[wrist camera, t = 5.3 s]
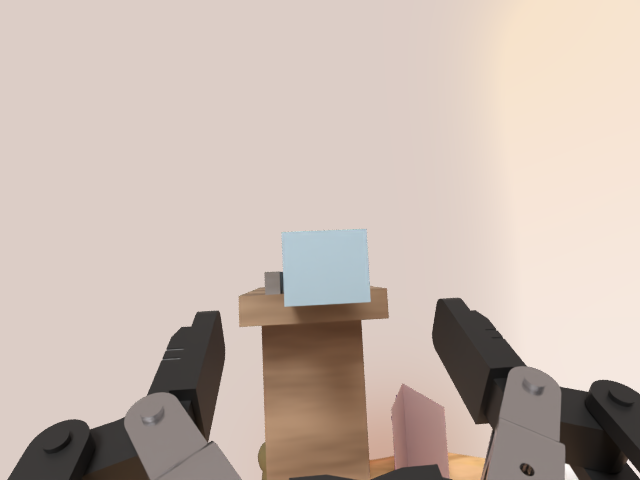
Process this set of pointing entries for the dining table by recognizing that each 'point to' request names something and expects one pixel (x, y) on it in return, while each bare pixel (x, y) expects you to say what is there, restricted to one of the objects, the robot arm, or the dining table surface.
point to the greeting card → (419, 431)
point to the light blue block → (325, 267)
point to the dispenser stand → (312, 381)
